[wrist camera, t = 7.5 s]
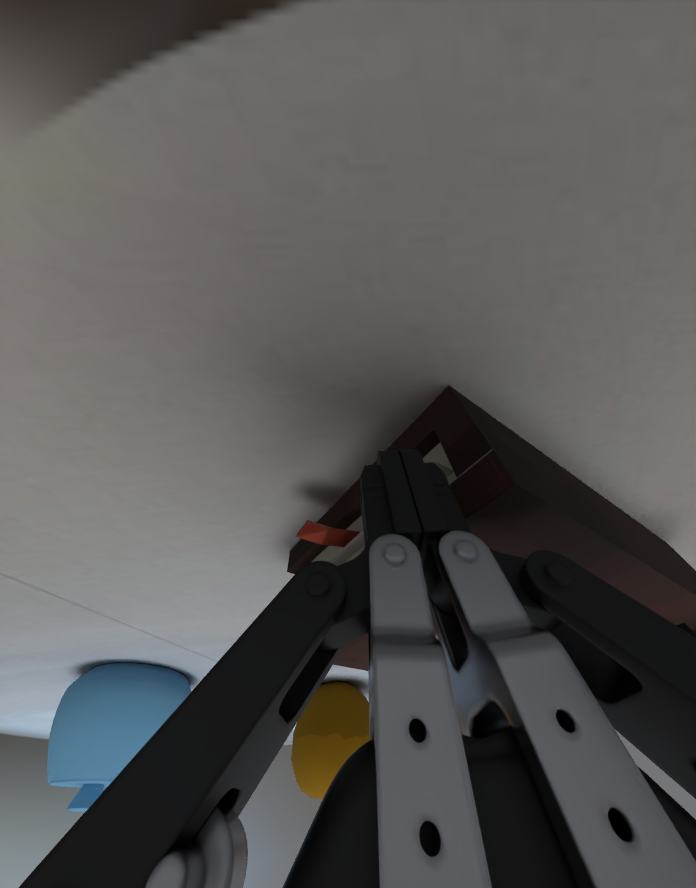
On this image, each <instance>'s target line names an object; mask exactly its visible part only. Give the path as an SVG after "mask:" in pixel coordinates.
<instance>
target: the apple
mask: <svg viewBox="0 0 696 888" xmlns="http://www.w3.org/2000/svg"><path fill="white" fill-rule="evenodd" d="M368 741H369V702H368V701H367V699H366V697H365V696H364V695H363V694H362V693H361V692H360V691H359V690H358V689H357V688H355V687H353V686H352V685H350V684H348V683H345V682H331V683H326V684H323V685H320V686H319V687H318V689H317V691H316V692H315V694H314V695H313V697H312V699H311V700H310V702H309V704H308V705H307V707H306V708H305V710H304V712H303V713H302V715H301V716H300V718H299V720H298V721H297V724H296V727H295V730H294V734H293V745H292V757H291V760H292V766H293V770H294V774H295V778H296V782H297V783H298V785H299V787H300V789H301V790H302V792H304V793H306V794H307V795H309V796H310V797H313V798H320V799H323V798H324V796H325V794H326V792H327V790H328V788H329V786H330V784H331V782H332V780H333V779H334V777H335V775H336V774H337V772H338V771H339V769H340V768H341V767H342V765H343V764H344V763H345V762H346V760H347V759H348V758H349V757H350V756H351V755H352V754H353V753H354V752H355V751H356V750H357V749H358V748H360V747H361V746H362V745H364V744H365V743H367V742H368Z"/></svg>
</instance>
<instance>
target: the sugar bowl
mask: <svg viewBox="0 0 696 888" xmlns="http://www.w3.org/2000/svg"><path fill="white" fill-rule="evenodd" d="M190 693H191V689H190V686H189V683H188V680H187V678H186V677H185V676H184V675H183V674H181V673H179V672H176V671H174V670H171V669H167V668H164V667H159V666H154V665H147V664H136V663H114V664H106V665H101V666H97V667H95V668H93V669H92V670H90V671H89V672H87V673H86V674H84V675H83V676H81V677H80V678H78V679H77V680H76V681H74V682H73V683H72V684H71V685H70V686H69V687H68V688H67V690H66V692H65V693H64V695H63V697H62V699H61V701H60V704H59V706H58V708H57V711H56V714H55V717H54V720H53V724H52V728H51V732H50V739H49V747H48V764H47V775H48V782H49V785H53V786H64V787H82V788H81V790H80V791H79V792H78V794H77V795H76V796H75V798H74V799H73V801H72V802H71V803H70V805H69V807H68V808H67V809H68V810H69V811H74V812H86V811H87V810H88V808H89V807H90V806H91V805H92V804H93V803H94V802H95V800H96V799H97V798H98V797H99V796H100V795H101V794H102V793H103V787H108V786H109V785H110V784H111V782H112V781H113V780H114V779H115V778H116V777H117V776H118V774H119V773H120V772H121V771H122V770H123V769H124V768H125V767H126V765H127V764H128V763H129V762H130V761H131V760H132V759H133V757H134V756H135V755H136V754H137V753H138V752H139V751H140V750H141V748H142V747H143V746H144V745H145V744H146V743H147V742H148V741H149V739H150V738H151V737H152V736H153V735H154V734H155V733H156V731H157V730H158V729H159V728H160V727H161V726H162V725H163V724H164V722H165V721H166V720H167V719H168V718H169V717H170V716H171V714H172V713H173V712H174V711H175V710H176V709H177V708H178V707H179V705H180V704H181V703H182V702H183V701H184V700H185V699H186V697H187V696H188V695H189V694H190Z"/></svg>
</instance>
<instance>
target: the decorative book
mask: <svg viewBox="0 0 696 888" xmlns="http://www.w3.org/2000/svg"><path fill="white" fill-rule="evenodd" d="M412 449H418V450H419V451H420V453H421V455H422V458H423V461H424V463H428V462H434V463H435V464H436V465H437V466H438V467H439V468H440V469H441V470H442V471H443V472H444V474H445V476H446V478H447V480H448V482H449V485H450V487H451V489H452V491H453V494H454V496H455V498H456V500H457V502H458V505H459V507H460V509H461V511H462V513H463V516H464V518H465V520H466V522H467V524H468V527H469V529H470V531H471V532H472V534H473V535H475V536H477V537H478V538H480V539H481V540H482V541H483V542H484V543H485V544H486V545H487V546H488V548H490V549H492V550H494V551H497V552H500V553H504V554H508V555H513V556H517V557H521V558H525V559H527V558H528V556H529V555H530V554H531V553H533V552H535V551H538V550H547V551H552V552H556V553H558V554H561V555H563V556H564V557H566V558H568V559H570V560H571V561H573V562H574V563H576V564H578V565H579V566H581V567H583V568H584V569H586V570H587V571H589V572H591V573H592V574H594V575H596V576H597V577H599V578H600V579H602V580H604V581H605V582H607V583H608V584H610V585H612V586H613V587H615V588H617V589H618V590H620V591H621V592H623V593H625V594H626V595H628V596H630V597H631V598H633V599H634V600H636V601H638V602H639V603H641V604H642V605H644V606H646V607H647V608H649V609H651V610H652V611H654V612H655V613H657V614H659V615H660V616H662V617H664V618H665V619H667V620H668V621H670V622H672V623H673V624H675V625H676V626H678V627H680V628H681V629H683V630H685V631H686V632H688V633H689V634H691V635H693V636H694V637H696V571H695V570H694V569H693V568H692V567H691V566H690V565H689V564H688V563H687V562H686V561H685V560H684V559H683V558H682V557H681V556H680V555H679V554H678V553H677V552H676V551H675V550H674V549H673V548H672V547H671V546H669V545H668V544H667V543H666V542H665V541H663V540H662V539H660V538H659V537H658V536H656V535H655V534H653V533H652V532H651V531H649V530H648V529H647V528H645V527H644V526H642V525H641V524H640V523H638V522H637V521H636V520H634V519H633V518H631V517H630V516H629V515H627V514H626V513H624V512H623V511H622V510H620V509H619V508H618V507H616V506H615V505H613V504H612V503H611V502H609V501H608V500H607V499H605V498H604V497H602V496H601V495H600V494H598V493H597V492H595V491H594V490H593V489H591V488H590V487H589V486H587V485H586V484H584V483H583V482H582V481H580V480H579V479H578V478H576V477H575V476H573V475H572V474H571V473H569V472H568V471H566V470H565V469H564V468H562V467H561V466H560V465H558V464H557V463H555V462H554V461H553V460H551V459H550V458H549V457H547V456H546V455H544V454H543V453H542V452H540V451H539V450H537V449H536V448H535V447H533V446H532V445H531V444H529V443H528V442H526V441H525V440H524V439H522V438H521V437H520V436H518V435H517V434H515V433H514V432H513V431H511V430H510V429H508V428H507V427H506V426H504V425H503V424H502V423H500V422H499V421H497V420H496V419H495V418H493V417H492V416H491V415H489V414H488V413H486V412H485V411H484V410H482V409H481V408H479V407H478V406H477V405H475V404H474V403H473V402H471V401H470V400H468V399H467V398H466V397H464V396H463V395H462V394H460V393H459V392H457V391H456V390H455V389H453V388H452V387H450V386H448V387H447V388H446V389H445V390H444V391H443V392H442V393H441V394H440V395H439V396H438V397H437V398H436V399H435V401H434V402H433V403H432V404H431V405H430V406H429V407H428V408H427V409H426V410H425V411H424V412H423V413H422V414H421V415H420V416H419V417H418V418H417V419H416V420H415V421H414V422H413V423H412V424H411V426H410V427H409V428H408V429H407V430H406V431H405V432H404V433H403V434H402V435H401V436H400V437H399V438H398V439H397V440H396V441H395V442H394V443H393V444H392V445H391V446H390V447H389V448H388V450H387V451H391V450H412ZM373 465H377V461H376V462H375V463H374V464H373ZM295 537H298V538H301V540H300V541H299V542H298V543H297V544H296V545H295V546H294V547H293V549H292V550H291V551H290V556H289V562H288V569H287V572H290V573H293V574H296V573H297V572H298V571H299V570H300V569H301V568H302V567H303V566H305V565H307V564H308V563H311V562H314V561H327V562H330V563H332V564H334V565H336V566H338V565H341V564H343V563H346V562H348V561H350V560H352V559H354V558H356V557H357V556H358V555H359V554H361V552H362V551H363V550H364V548H365V542H364V532H363V522H362V512H361V478H360V479H359V480H358V481H357V482H356V483H355V484H354V485H353V486H352V487H351V488H350V489H349V490H348V491H347V492H346V493H345V494H344V495H343V496H342V497H341V498H340V500H339V501H338V502H337V503H336V504H335V505H334V506H333V507H332V508H331V509H330V510H329V511H328V512H327V513H326V514H325V515H324V516H323V517H322V518H321V519H320V520H319V521H318V522H317V523H315V522H312V521H308V520H307V522H306V523H305V524H304V526H303V527H302V528H301V530H300V531H299V532H298V534H297V535H296V536H295ZM425 584H426V582H425ZM426 588H427V586H426ZM433 627H434V625H433ZM434 632H435V635H436V638H437V639H438V637H437V634H436V631H435V628H434ZM333 664H334V665H339V666H345V667H350V668H355V669H361V670H366V671H369V661H368V634H366V635H364V636H362V637H360V638H358V639H356V640H353V641H351V642H349V643H347V644H345V645H344V647H343V649H342V650H341V652H340V654H339V655H338V657H337V658H336V660H335V662H334V663H333Z"/></svg>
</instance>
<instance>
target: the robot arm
mask: <svg viewBox="0 0 696 888" xmlns="http://www.w3.org/2000/svg"><path fill="white" fill-rule="evenodd" d="M361 512H362V522H363V532H364V542H365V548H364V550H363V551H362V552H361V554H359V555H358V556H357V557H356V558H354V559H352V560H350V561H348V562H346V563H343V564H341V565H338V566H336V565H334V564H332V563H330V562H327V561H314V562H311V563H308V564H307V565H305V566H303V567H302V568H301V569H300V570H299V571H298V572H297V573H296V574H295V575H294V576H293V578H292V579H291V580H290V581H289V582H288V583H287V584H286V585H285V587H284V588H283V589H282V590H281V591H280V592H279V593H278V594H277V596H276V597H275V598H274V599H273V600H272V601H271V602H270V604H269V605H268V606H267V607H266V608H265V609H264V610H263V611H262V613H261V614H260V615H259V616H258V617H257V618H256V619H255V621H254V622H253V623H252V624H251V625H250V626H249V627H248V628H247V630H246V631H245V632H244V633H243V634H242V635H241V636H240V638H239V639H238V640H237V641H236V642H235V643H234V644H233V645H232V647H231V648H230V649H229V650H228V651H227V652H226V653H225V654H224V656H223V657H222V658H221V659H220V660H219V661H218V662H217V664H216V665H215V666H214V667H213V668H212V669H211V670H210V671H209V673H208V674H207V675H206V676H205V677H204V678H203V679H202V681H201V682H200V683H199V684H198V685H197V686H196V687H195V688H194V690H193V691H192V692H191V693H190V694H189V695H188V696H187V697H186V699H185V700H184V701H183V702H182V703H181V704H180V705H179V707H178V708H177V709H176V710H175V711H174V712H173V713H172V714H171V716H170V717H169V718H168V719H167V720H166V721H165V722H164V724H163V725H162V726H161V727H160V728H159V729H158V730H157V731H156V733H155V734H154V735H153V736H152V737H151V738H150V739H149V741H148V742H147V743H146V744H145V745H144V746H143V747H142V748H141V750H140V751H139V752H138V753H137V754H136V755H135V756H134V757H133V759H132V760H131V761H130V762H129V763H128V764H127V765H126V767H125V768H124V769H123V770H122V771H121V772H120V773H119V774H118V776H117V777H116V778H115V779H114V780H113V781H112V782H111V784H110V785H109V786H108V787H107V788H106V789H105V790H104V791H103V793H102V794H101V795H100V796H99V797H98V798H97V799H96V800H95V802H94V803H93V804H92V805H91V806H90V807H89V808H88V810H87V811H86V812H85V813H84V814H83V815H82V816H81V817H80V819H79V820H78V821H77V822H76V823H75V825H73V827H72V828H71V829H70V830H69V831H68V832H67V833H66V834H65V836H64V837H63V838H62V839H61V840H60V841H59V842H58V844H57V845H56V846H55V847H54V848H53V849H52V850H51V851H50V853H49V854H48V855H47V856H46V857H45V858H44V859H43V860H42V862H41V863H40V864H39V865H38V866H37V867H36V868H35V870H34V871H33V872H32V873H31V874H30V875H29V876H28V878H27V879H26V880H25V881H24V882H23V883H22V885H21V886H20V887H19V888H243V884H244V880H245V875H246V868H247V857H248V849H247V839H246V834H245V831H244V827H243V825H242V823H241V821H240V819H239V818H238V816H239V815H240V813H241V811H242V810H243V808H244V806H245V805H246V803H247V802H248V800H249V799H250V797H251V795H252V794H253V792H254V790H255V789H256V787H257V786H258V784H259V782H260V781H261V779H262V778H263V776H264V774H265V773H266V771H267V769H268V768H269V766H270V765H271V763H272V761H273V760H274V758H275V757H276V755H277V753H278V752H279V750H280V749H281V747H282V745H283V744H284V742H285V741H286V739H287V737H288V736H289V734H290V733H291V731H292V729H293V728H294V726H295V724H296V723H297V721H298V720H299V718H300V716H301V715H302V713H303V712H304V710H305V708H306V707H307V705H308V704H309V702H310V700H311V699H312V697H313V695H314V694H315V692H316V691H317V689H318V687H319V686H320V684H321V683H322V681H323V679H324V678H325V676H326V675H327V673H328V671H329V670H330V668H331V666H332V665H333V663H334V662H335V660H336V658H337V657H338V655H339V654H340V652H341V650H342V649H343V647H344V645H345V644H347V643H349V642H351V641H353V640H356V639H358V638H360V637H362V636H364V635H366V634H368V661H369V741H368V742H367V743H365V744H364V745H362V746H361V747H360V748H358V749H357V750H356V751H355V752H354V753H353V754H352V755H351V756H350V757H349V758H348V759H347V760H346V762H345V763H344V764H343V765H342V767H341V768H340V769H339V771H338V772H337V774H336V775H335V777H334V779H333V780H332V782H331V784H330V786H329V788H328V790H327V792H326V794H325V796H324V798H323V800H322V802H321V805H320V807H319V809H318V811H317V813H316V816H315V818H314V820H313V823H312V824H311V827H310V829H309V831H308V833H307V835H306V838H305V840H304V842H303V844H302V846H301V848H300V851H299V853H298V855H297V857H296V859H295V862H294V864H293V866H292V868H291V871H290V872H289V875H288V877H287V879H286V881H285V883H284V886H283V888H696V820H695V819H694V818H693V817H692V816H691V815H690V814H689V813H688V812H687V811H686V810H685V809H684V808H682V807H681V806H680V805H679V804H678V803H677V802H676V801H675V800H674V799H673V798H672V797H671V796H670V795H669V794H667V793H666V792H665V791H664V790H663V789H662V788H661V787H660V786H659V785H658V784H657V783H656V782H655V781H653V780H652V779H651V778H650V777H649V776H648V775H647V774H646V773H645V772H644V771H642V770H641V769H640V768H639V767H638V766H637V765H636V764H635V762H634V760H633V759H632V757H631V755H630V754H629V752H628V751H627V749H626V747H625V746H624V744H623V743H622V741H621V739H620V738H619V736H618V735H617V733H616V731H615V729H616V730H617V731H618V732H619V733H620V734H621V735H622V736H624V737H625V738H626V739H627V740H628V741H629V742H630V743H632V744H633V745H634V746H635V747H636V748H637V749H639V750H640V751H641V752H642V753H643V754H644V755H646V756H647V757H648V758H649V759H650V760H651V761H652V762H654V763H655V764H656V765H657V766H658V767H659V768H660V769H662V770H663V771H664V772H665V773H666V774H667V775H669V776H670V777H671V778H672V779H673V780H674V781H675V782H677V783H678V784H679V785H680V786H681V787H683V788H684V789H685V790H686V791H687V792H688V793H689V794H691V795H692V796H693V797H694V798H695V799H696V637H694V636H693V635H691V634H689V633H688V632H686V631H685V630H683V629H681V628H680V627H678V626H676V625H675V624H673V623H672V622H670V621H668V620H667V619H665V618H664V617H662V616H660V615H659V614H657V613H655V612H654V611H652V610H651V609H649V608H647V607H646V606H644V605H642V604H641V603H639V602H638V601H636V600H634V599H633V598H631V597H630V596H628V595H626V594H625V593H623V592H621V591H620V590H618V589H617V588H615V587H613V586H612V585H610V584H608V583H607V582H605V581H604V580H602V579H600V578H599V577H597V576H596V575H594V574H592V573H591V572H589V571H587V570H586V569H584V568H583V567H581V566H579V565H578V564H576V563H574V562H573V561H571V560H570V559H568V558H566V557H564V556H563V555H561V554H558V553H556V552H552V551H547V550H538V551H535V552H533V553H531V554H530V555H529V556H528V558H527V559H525V558H521V557H517V556H513V555H508V554H504V553H500V552H497V551H494V550H492V549H490V548H488V546H487V545H486V544H485V543H484V542H483V541H482V540H481V539H480V538H478V537H477V536H475V535H473V534H472V532H471V531H470V529H469V527H468V524H467V522H466V520H465V518H464V516H463V513H462V511H461V509H460V507H459V505H458V502H457V500H456V498H455V496H454V494H453V491H452V489H451V487H450V485H449V482H448V480H447V478H446V476H445V474H444V472H443V471H442V470H441V469H440V468H439V467H438V466H437V465H436V464H435V463H434V462H428V463H424V461H423V458H422V455H421V453H420V451H419V450H418V449H412V450H391V451H378V454H377V465H365V467H364V470H363V472H362V474H361ZM425 582H426V584H425ZM426 586H427V588H426ZM433 625H434V627H433ZM434 628H435V631H436V634H437V637H438V639H437V638H436V635H435V632H434ZM460 729H461V730H460ZM461 732H462V734H461Z"/></svg>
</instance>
